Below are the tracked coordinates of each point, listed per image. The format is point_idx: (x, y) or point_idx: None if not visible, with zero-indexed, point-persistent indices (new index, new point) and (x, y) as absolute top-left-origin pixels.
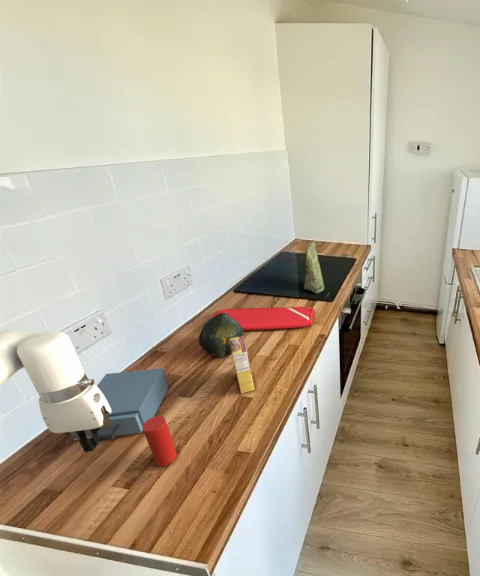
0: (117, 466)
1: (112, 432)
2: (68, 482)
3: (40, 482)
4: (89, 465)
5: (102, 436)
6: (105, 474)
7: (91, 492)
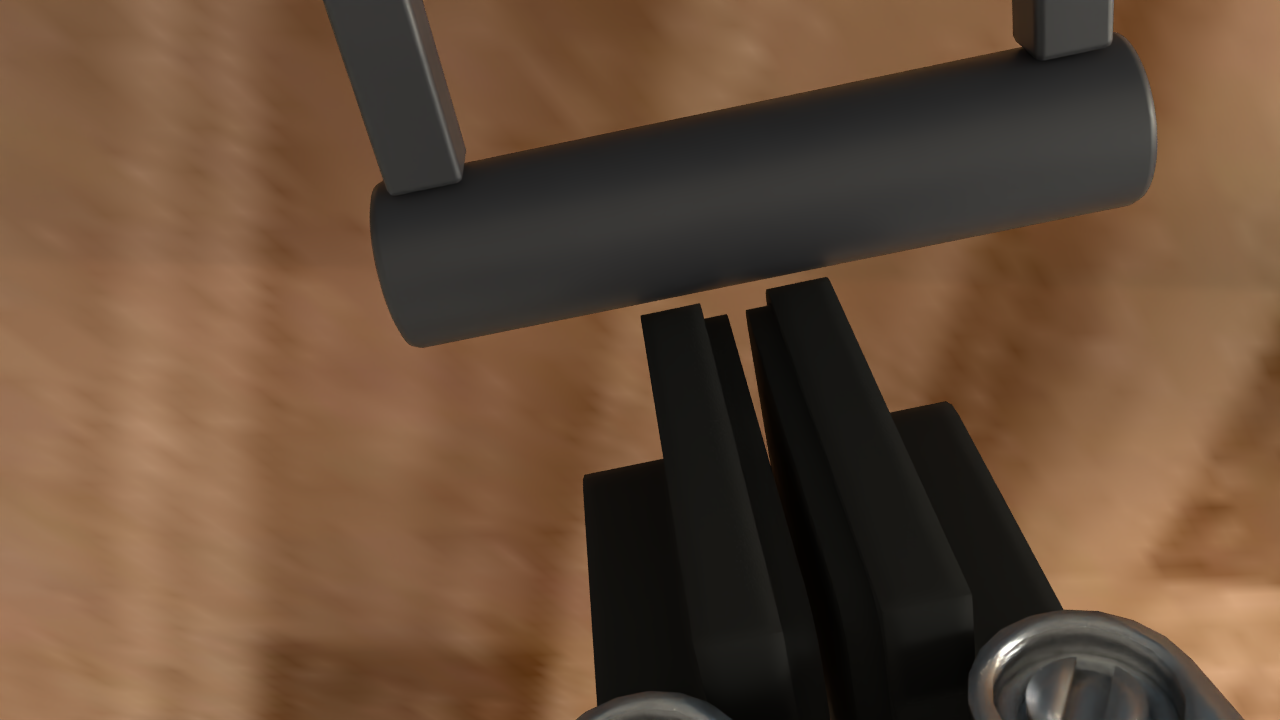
0: (1093, 321)
1: (1047, 20)
2: (511, 562)
3: (93, 578)
4: (605, 318)
5: (883, 234)
6: None
7: None
